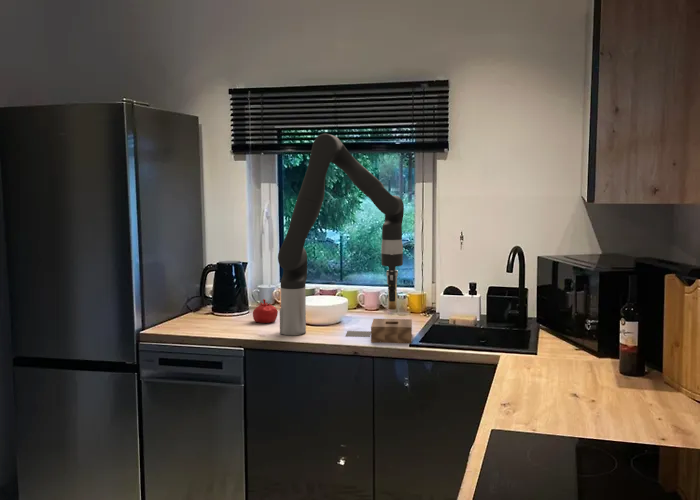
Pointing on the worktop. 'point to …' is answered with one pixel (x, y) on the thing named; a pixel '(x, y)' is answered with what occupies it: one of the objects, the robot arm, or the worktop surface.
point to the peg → (392, 304)
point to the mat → (358, 334)
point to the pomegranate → (265, 313)
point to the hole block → (391, 331)
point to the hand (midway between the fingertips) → (392, 300)
